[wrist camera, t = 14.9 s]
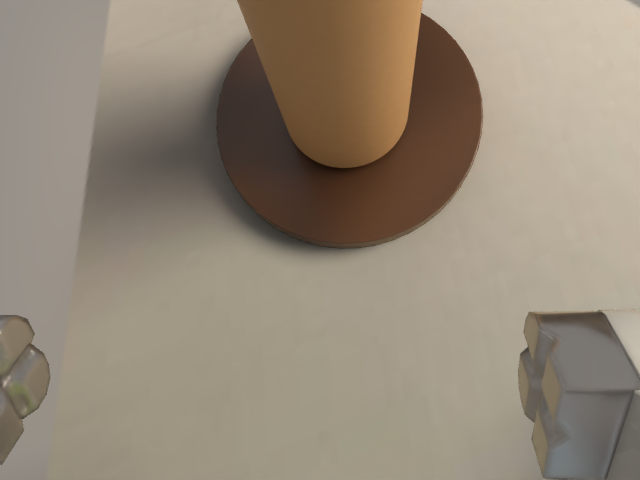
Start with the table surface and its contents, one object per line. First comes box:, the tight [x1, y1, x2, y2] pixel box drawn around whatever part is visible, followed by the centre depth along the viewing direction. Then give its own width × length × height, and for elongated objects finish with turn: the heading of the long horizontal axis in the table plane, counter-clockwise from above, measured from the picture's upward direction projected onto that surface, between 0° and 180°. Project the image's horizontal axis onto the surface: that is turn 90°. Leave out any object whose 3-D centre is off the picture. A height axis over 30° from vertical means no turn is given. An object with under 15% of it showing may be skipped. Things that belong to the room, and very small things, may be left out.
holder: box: [217, 13, 483, 248], centre depth 30 cm, size 14×14×2 cm
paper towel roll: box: [237, 0, 423, 168], centre depth 22 cm, size 6×7×14 cm
